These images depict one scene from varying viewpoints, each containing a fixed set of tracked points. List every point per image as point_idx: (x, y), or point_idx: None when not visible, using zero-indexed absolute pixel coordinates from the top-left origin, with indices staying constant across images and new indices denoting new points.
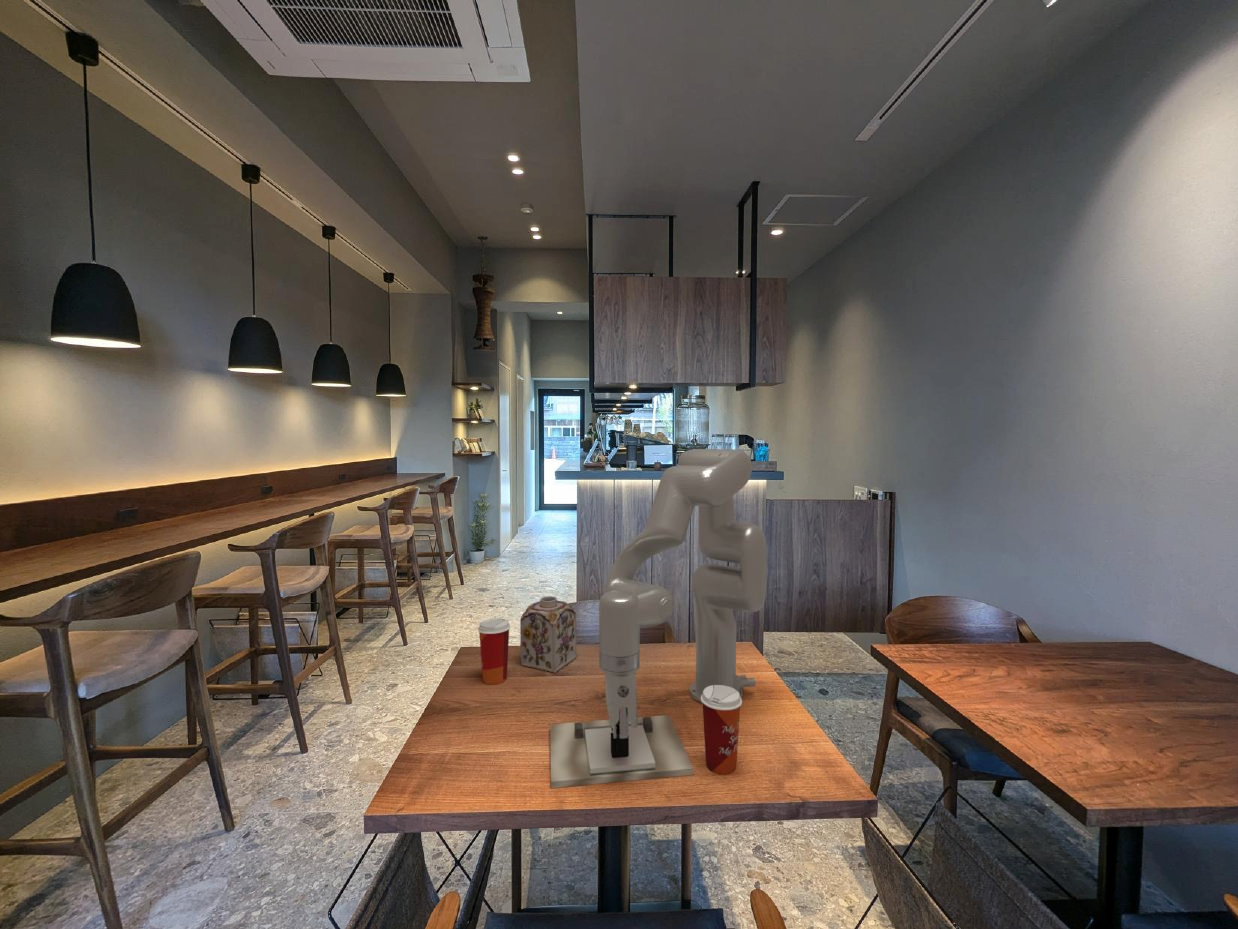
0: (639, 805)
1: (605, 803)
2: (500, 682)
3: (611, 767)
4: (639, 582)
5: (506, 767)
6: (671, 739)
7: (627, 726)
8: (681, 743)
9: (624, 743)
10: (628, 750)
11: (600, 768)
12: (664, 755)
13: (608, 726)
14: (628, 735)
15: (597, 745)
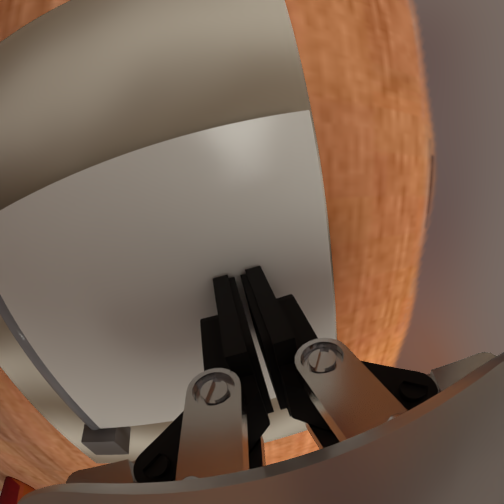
0: (425, 184)
1: (405, 284)
2: (24, 484)
3: (333, 318)
4: None
5: None
6: (26, 59)
7: (404, 412)
8: (59, 7)
9: (313, 332)
10: (266, 280)
11: None
12: (164, 65)
13: (42, 370)
14: (290, 341)
15: (185, 393)
